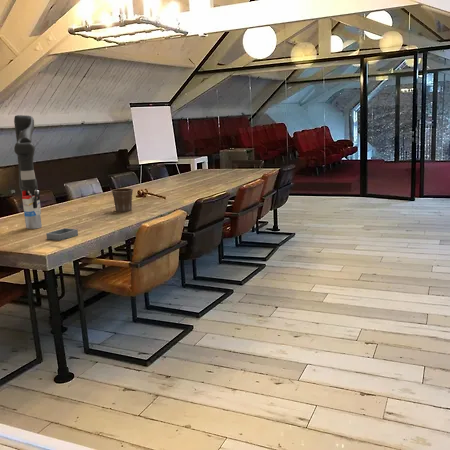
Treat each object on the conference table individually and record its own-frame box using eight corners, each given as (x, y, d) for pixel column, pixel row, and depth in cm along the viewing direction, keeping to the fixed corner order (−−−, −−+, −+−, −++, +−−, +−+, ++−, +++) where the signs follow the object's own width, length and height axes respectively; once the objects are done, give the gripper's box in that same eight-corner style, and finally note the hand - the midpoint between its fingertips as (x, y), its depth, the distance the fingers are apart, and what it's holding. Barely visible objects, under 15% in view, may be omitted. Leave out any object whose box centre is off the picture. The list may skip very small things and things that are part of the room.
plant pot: (137, 211, 371) (135, 190, 367) (115, 213, 364) (114, 192, 361) (131, 207, 385) (129, 187, 382) (111, 210, 379) (109, 189, 375)
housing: (46, 239, 290) (46, 233, 289) (65, 233, 302) (64, 228, 301) (59, 240, 285) (59, 234, 284) (78, 235, 297) (77, 229, 297)
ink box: (31, 216, 277) (27, 191, 274) (24, 216, 279) (20, 191, 275) (41, 214, 285) (38, 189, 281) (35, 213, 286) (31, 188, 283)
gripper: (42, 177, 277) (45, 207, 280) (24, 177, 283) (28, 205, 287) (31, 179, 270) (35, 209, 274) (14, 178, 277) (17, 208, 281)
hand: (31, 207), depth 280 cm, fingers closed on ink box, 5 cm apart
